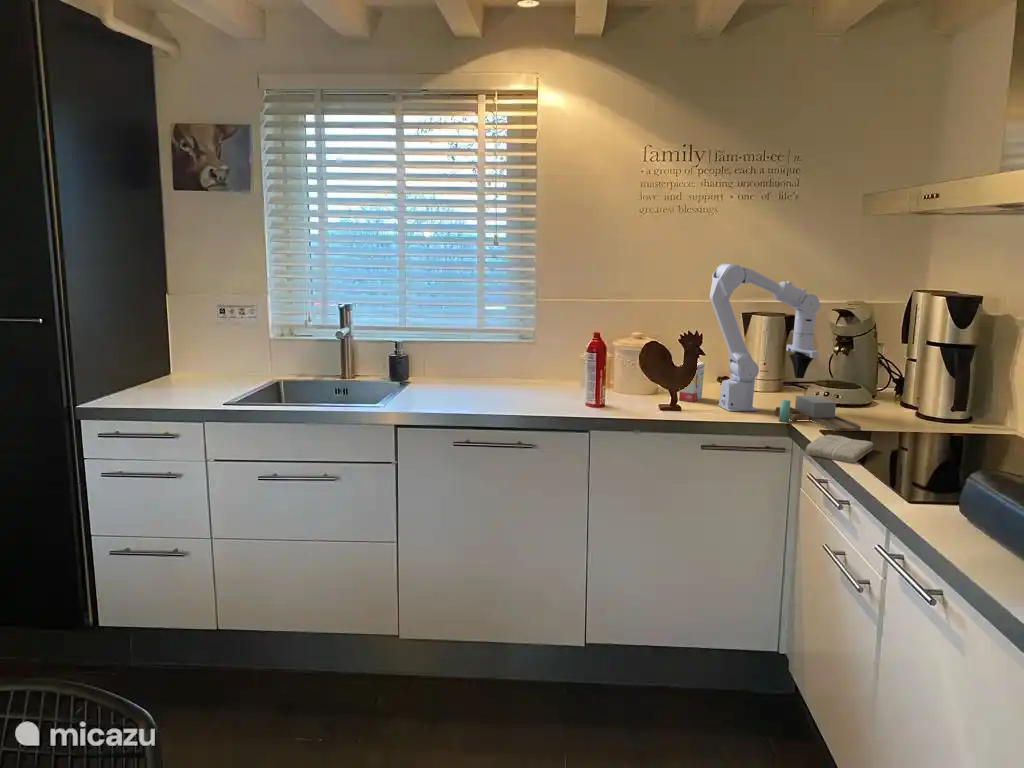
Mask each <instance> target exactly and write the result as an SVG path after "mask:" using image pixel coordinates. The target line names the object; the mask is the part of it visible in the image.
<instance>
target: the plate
mask: <svg viewBox="0 0 1024 768" xmlns="http://www.w3.org/2000/svg"><path fill="white" fill-rule="evenodd" d="M809 419H810V420H812V421H814V422H816V423H818V424H820V425H823V426H825V427H827V428H829V429H828V430H830V429H831V430H830V431H832V430H833V431H832V432H860V431H861V427H862V426H861V425H858V424H856V423H855V422H851V421H849V420H846V419H843V418H840V417H838V416H836V415H835V418H814V417H811V416H809ZM816 423H815V424H816ZM818 424H817V425H818ZM820 425H819V426H820ZM823 426H822V427H823ZM825 427H824V428H825ZM827 428H826V429H827Z"/></svg>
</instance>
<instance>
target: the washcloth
mask: <svg viewBox="0 0 1024 768" xmlns="http://www.w3.org/2000/svg"><path fill="white" fill-rule="evenodd" d="M873 446H874V443H873V442H872V441H869V440H860V439H852V438H849V437H846V436H843V435H836V434H835V435H833V434H826V435H819V436H818V437H817V438H816V439H814V440H813V441H811V442H810V443H807V446H806V447H805V451H804V452H805V455H807V456H810V457H816V458H824V459H828V460H834V461H839V462H843V463H847V464H848V463H849V464H855V463H856V462H858V461H859V460H860V459H862V458H863V457H865V456H866V455H867V454H868V453H870V452H872V451H873V448H872V447H873Z"/></svg>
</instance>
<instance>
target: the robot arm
mask: <svg viewBox="0 0 1024 768" xmlns="http://www.w3.org/2000/svg"><path fill="white" fill-rule="evenodd" d="M711 277H712V281H711V287H710V292H709V301H710V303H711V305H712V309H713V312H714V314H715V317H716V320H717V323H718V326H719V329H720V331H721V334H722V337H723V339H724V342H725V345H726V348H727V351H728V354H727V357H728V360H729V361H728V369H729V371H730V373H731V374H730V376H729V379H724V380H722V382H721V383H720V389H719V391H720V392H719V401H718V402H719V403H718V404H717V406H718V407H720V408H723V409H724V410H726V411H728V412H742V411H743V412H744V411H745V412H752V411H753V412H754V411H756V412H757V411H758V410H759V409H758V408H756V407H754V405H753V404H754V392H755V382H756V377H757V376H758V375H759V373H760V369H759V368H760V367H759V365H758V363H757V362H756V361H754V360H753V358H752V355H751V353H750V352H749V350H748V349H747V347H746V343H745V342H744V339H743V336H742V333H741V331H740V327H739V325H738V322H737V319H736V316H735V313H734V310H733V308H732V305H731V302H730V297H731V296H732V294H733V292H734V291H735V290H736V289H737V288H738V287H739V286H741V284H744V285H745V284H752V285H753V286H756V287H759V288H761V289H763V290H766V291H768V292H769V293H772V295H773V296H772V297H773V298H774V299H775V300H776V301H778V302H781V303H783V304H785V305H787V306H789V307H792V308H794V309H795V315H794V316H795V317H794V326H793V334H792V335H793V336H792V344H786V349H785V350H786V351H787V352H792V353H790V354H789V359H790V360H791V363H792V368H793V373H794V378H796V379H804V377H805V374H806V373H807V369H808V367H809V366H810V364H811V362H812V361H813V360H814V359H818V357H819V351H818V350H816V348H815V347H813V344H814V334H815V326H816V324H815V323H816V314H817V312H818V311H819V310H820V308H821V303H820V299H819V298H818V296H817V295H815V294H812V293H808V292H807V289H805V288H799V287H797V286H795V285H793V282H791V281H789V280H787V281H786V280H784V281H783V280H782V281H781V282H776V281H774V280H772V279H770V278H769V277H767V276H765V275H763V274H761V273H759V272H757V271H756V270H753V269H751V268H749V267H745V266H744V267H743V266H741V265H739V264H736V263H735V264H731V263H728V262H722V263H721V264H719V265H718V266H717V267H716V269H715V270H714V271H713V273H712V275H711Z"/></svg>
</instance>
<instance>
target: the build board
mask: <svg viewBox="0 0 1024 768" xmlns="http://www.w3.org/2000/svg"><path fill="white" fill-rule="evenodd" d="M774 413H775V415H776V414H778V415H777V416H779V415H780V406H776V407H775V410H774ZM789 419H790V420H792V421H797V420H810V419H809V414H806V413H804V412H801V411H799V410H797V409H795V407H791V406H790V412H789ZM790 420H789V421H790ZM792 421H791V422H792Z"/></svg>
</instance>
